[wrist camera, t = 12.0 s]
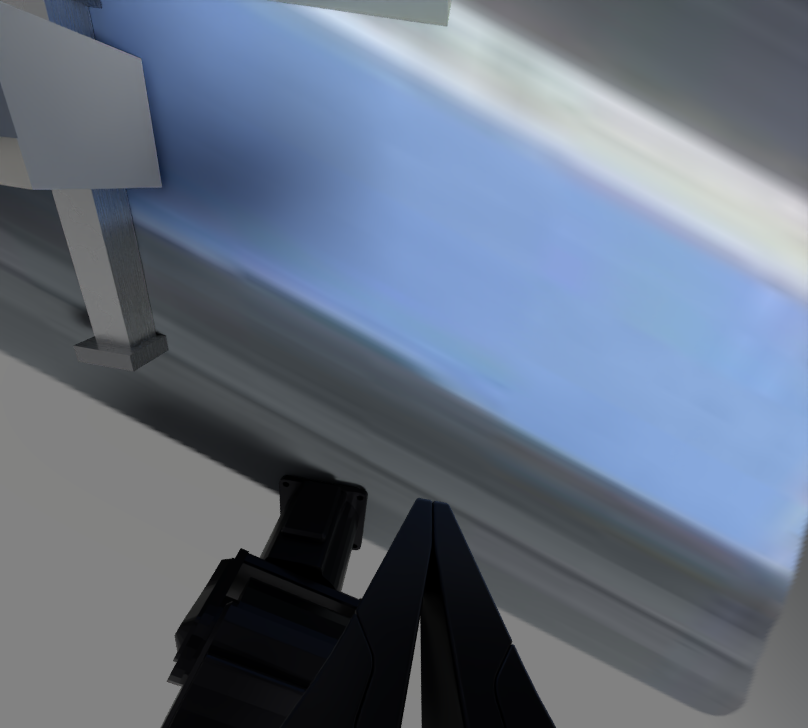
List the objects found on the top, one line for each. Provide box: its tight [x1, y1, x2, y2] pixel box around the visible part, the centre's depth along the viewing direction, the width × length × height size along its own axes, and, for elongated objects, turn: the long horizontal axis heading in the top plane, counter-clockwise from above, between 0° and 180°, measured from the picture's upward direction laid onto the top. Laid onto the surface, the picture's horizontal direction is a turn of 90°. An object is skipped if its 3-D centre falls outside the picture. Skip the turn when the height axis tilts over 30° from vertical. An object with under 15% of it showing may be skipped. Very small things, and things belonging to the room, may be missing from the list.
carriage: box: [0, 1, 162, 190], centre depth 13 cm, size 5×6×7 cm
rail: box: [0, 0, 168, 371], centre depth 17 cm, size 17×3×3 cm, turn 172°
